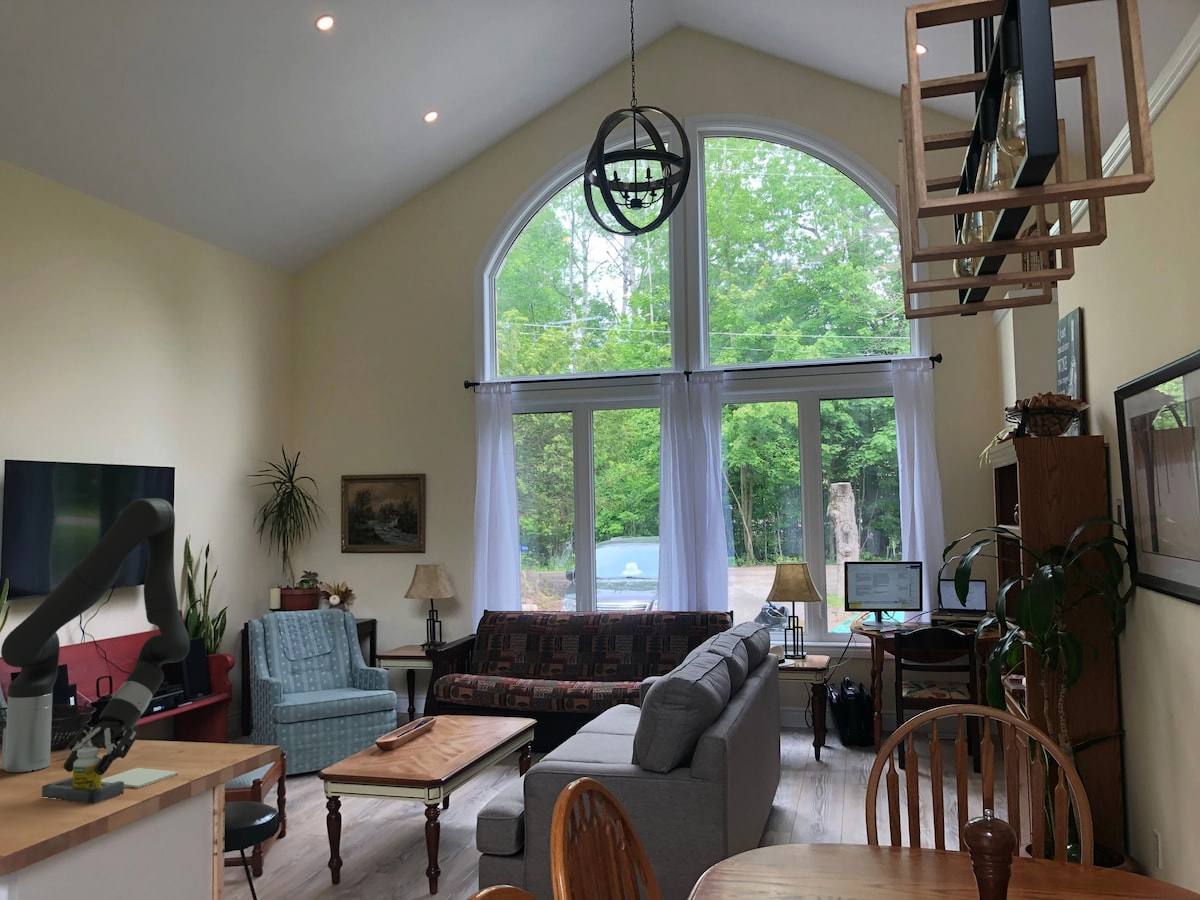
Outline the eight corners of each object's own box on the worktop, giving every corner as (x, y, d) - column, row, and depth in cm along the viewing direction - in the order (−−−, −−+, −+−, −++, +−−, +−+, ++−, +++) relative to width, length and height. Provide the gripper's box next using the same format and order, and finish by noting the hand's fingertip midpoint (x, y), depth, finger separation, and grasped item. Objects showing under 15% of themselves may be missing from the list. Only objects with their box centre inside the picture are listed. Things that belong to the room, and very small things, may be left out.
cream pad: (95, 784, 207) (95, 781, 208) (137, 770, 219) (137, 767, 219) (138, 788, 204) (138, 785, 204) (178, 774, 215) (178, 771, 215)
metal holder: (41, 798, 197) (42, 786, 197) (73, 788, 204) (73, 776, 205) (93, 804, 193) (94, 791, 193) (123, 793, 200) (123, 781, 200)
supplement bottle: (103, 790, 203) (105, 745, 203) (96, 797, 197) (98, 751, 198) (76, 792, 201) (78, 746, 202) (68, 799, 196) (70, 752, 197)
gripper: (92, 695, 210) (46, 759, 198) (143, 698, 206) (98, 764, 194) (110, 714, 215) (66, 778, 203) (160, 718, 210) (118, 783, 199)
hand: (82, 771), depth 198 cm, fingers open, 8 cm apart
